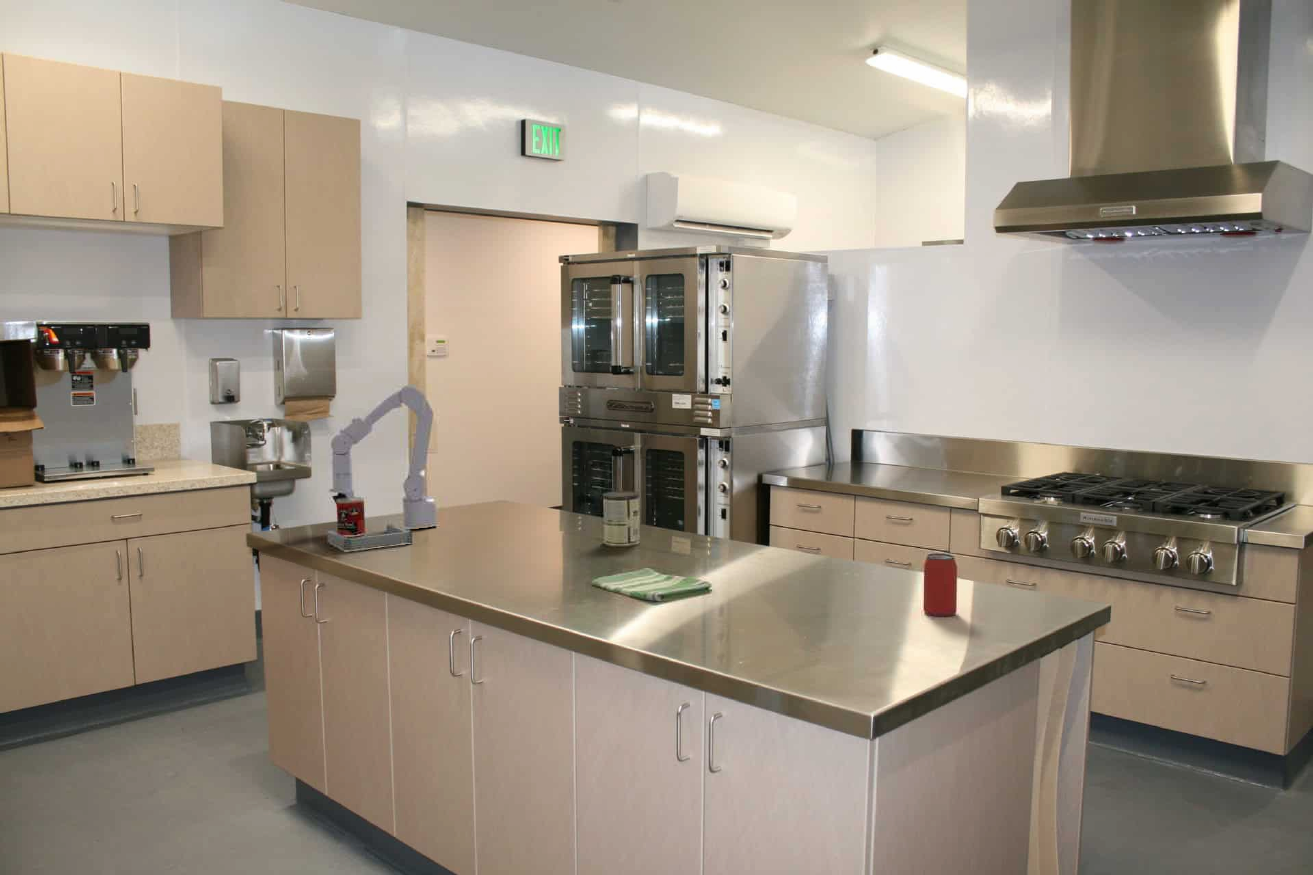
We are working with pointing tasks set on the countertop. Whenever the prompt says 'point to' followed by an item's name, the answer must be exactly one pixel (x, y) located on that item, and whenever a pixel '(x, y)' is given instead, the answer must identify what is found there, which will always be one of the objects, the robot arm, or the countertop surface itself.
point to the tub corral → (372, 539)
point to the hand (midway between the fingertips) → (344, 518)
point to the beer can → (940, 585)
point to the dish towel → (652, 585)
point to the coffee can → (621, 518)
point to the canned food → (350, 516)
